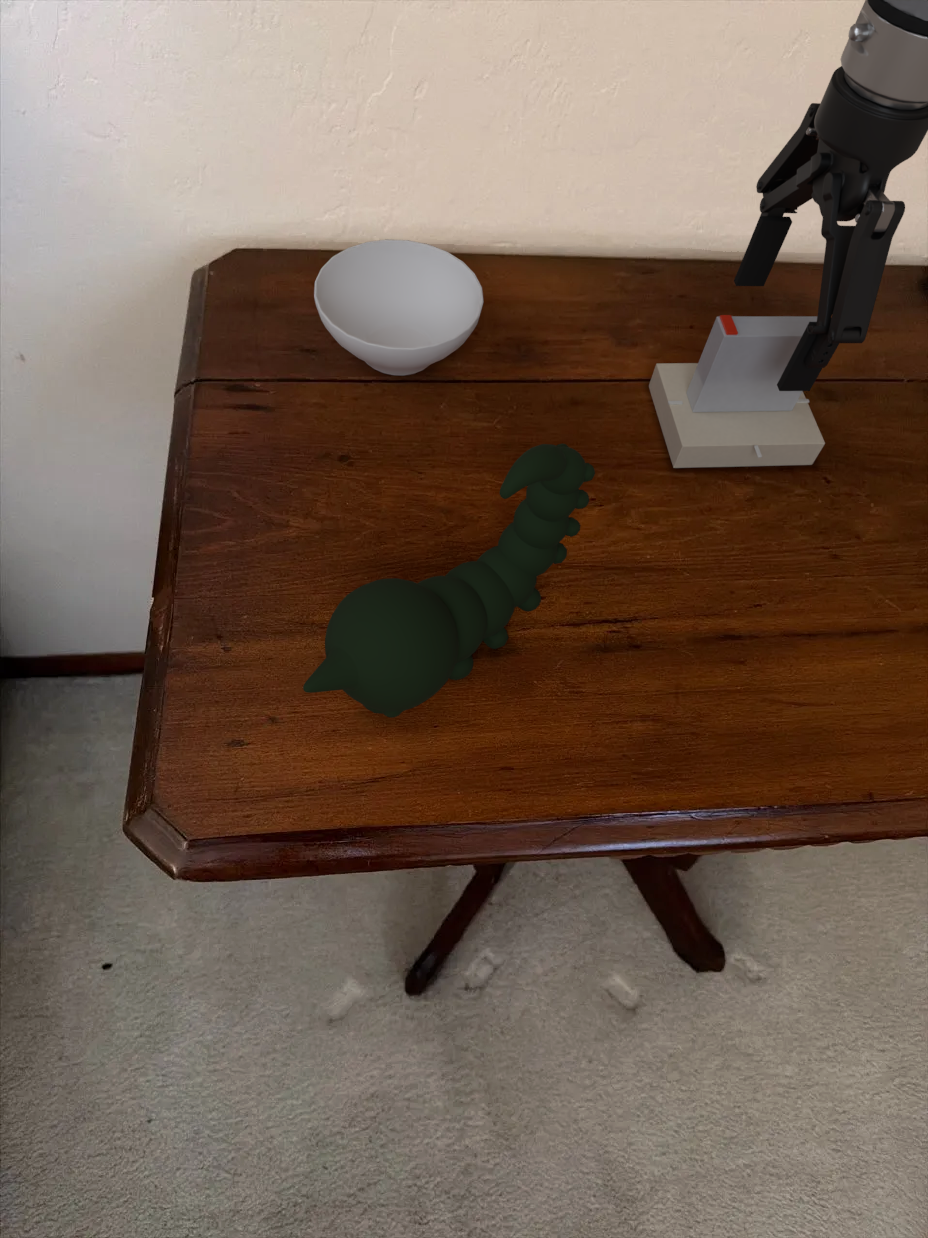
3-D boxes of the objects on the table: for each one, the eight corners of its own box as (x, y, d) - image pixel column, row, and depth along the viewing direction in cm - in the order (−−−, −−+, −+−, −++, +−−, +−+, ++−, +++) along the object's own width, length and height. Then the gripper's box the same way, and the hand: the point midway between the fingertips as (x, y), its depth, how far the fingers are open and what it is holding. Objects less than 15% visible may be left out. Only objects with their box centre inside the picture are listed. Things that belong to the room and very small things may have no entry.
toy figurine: (497, 552, 78) (264, 704, 66) (545, 383, 63) (254, 540, 51) (573, 621, 75) (343, 794, 63) (643, 461, 60) (358, 647, 48)
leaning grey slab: (784, 391, 86) (825, 313, 78) (792, 410, 85) (834, 333, 77) (686, 392, 85) (717, 313, 77) (692, 412, 83) (725, 333, 75)
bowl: (309, 302, 91) (305, 242, 86) (460, 294, 94) (466, 235, 88) (327, 413, 83) (323, 354, 77) (491, 400, 86) (499, 343, 80)
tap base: (775, 373, 92) (787, 349, 89) (818, 477, 84) (832, 454, 82) (643, 374, 90) (652, 350, 87) (676, 481, 83) (686, 458, 80)
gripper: (783, -9, 66) (694, 244, 84) (907, 187, 53) (770, 438, 71) (876, -4, 67) (769, 245, 85) (1020, 191, 54) (857, 436, 72)
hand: (769, 333), depth 78 cm, fingers open, 13 cm apart
